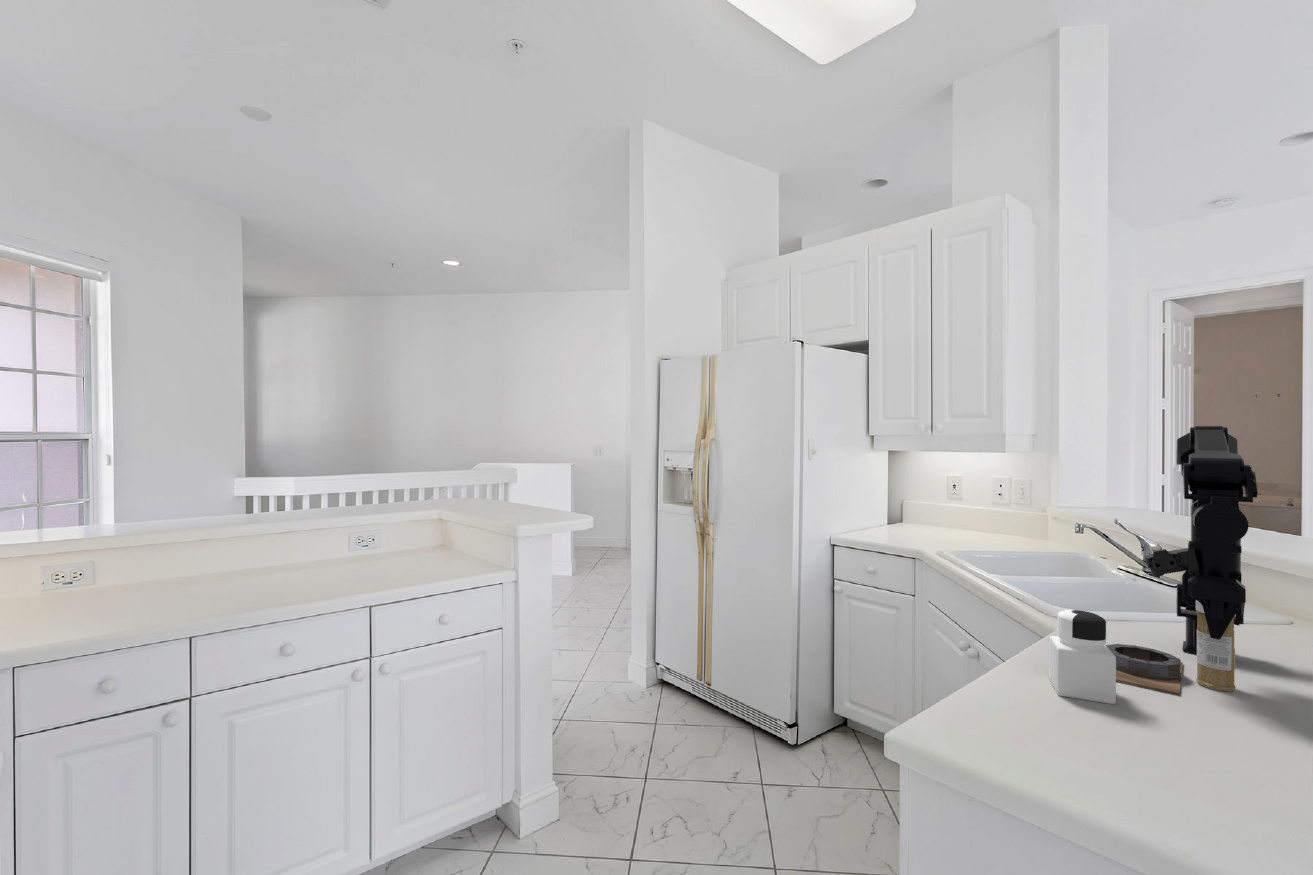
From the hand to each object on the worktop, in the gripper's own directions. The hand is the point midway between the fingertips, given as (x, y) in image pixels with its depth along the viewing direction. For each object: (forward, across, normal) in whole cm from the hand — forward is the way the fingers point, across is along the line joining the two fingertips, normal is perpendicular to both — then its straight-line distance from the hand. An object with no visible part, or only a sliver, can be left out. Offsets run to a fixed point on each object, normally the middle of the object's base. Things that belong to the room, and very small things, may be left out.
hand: (1215, 635), depth 93 cm
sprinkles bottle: (+8, 0, 0) cm, 8 cm away
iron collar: (+8, 0, -9) cm, 12 cm away
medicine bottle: (+8, +18, -15) cm, 25 cm away
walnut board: (+8, 0, -9) cm, 12 cm away
